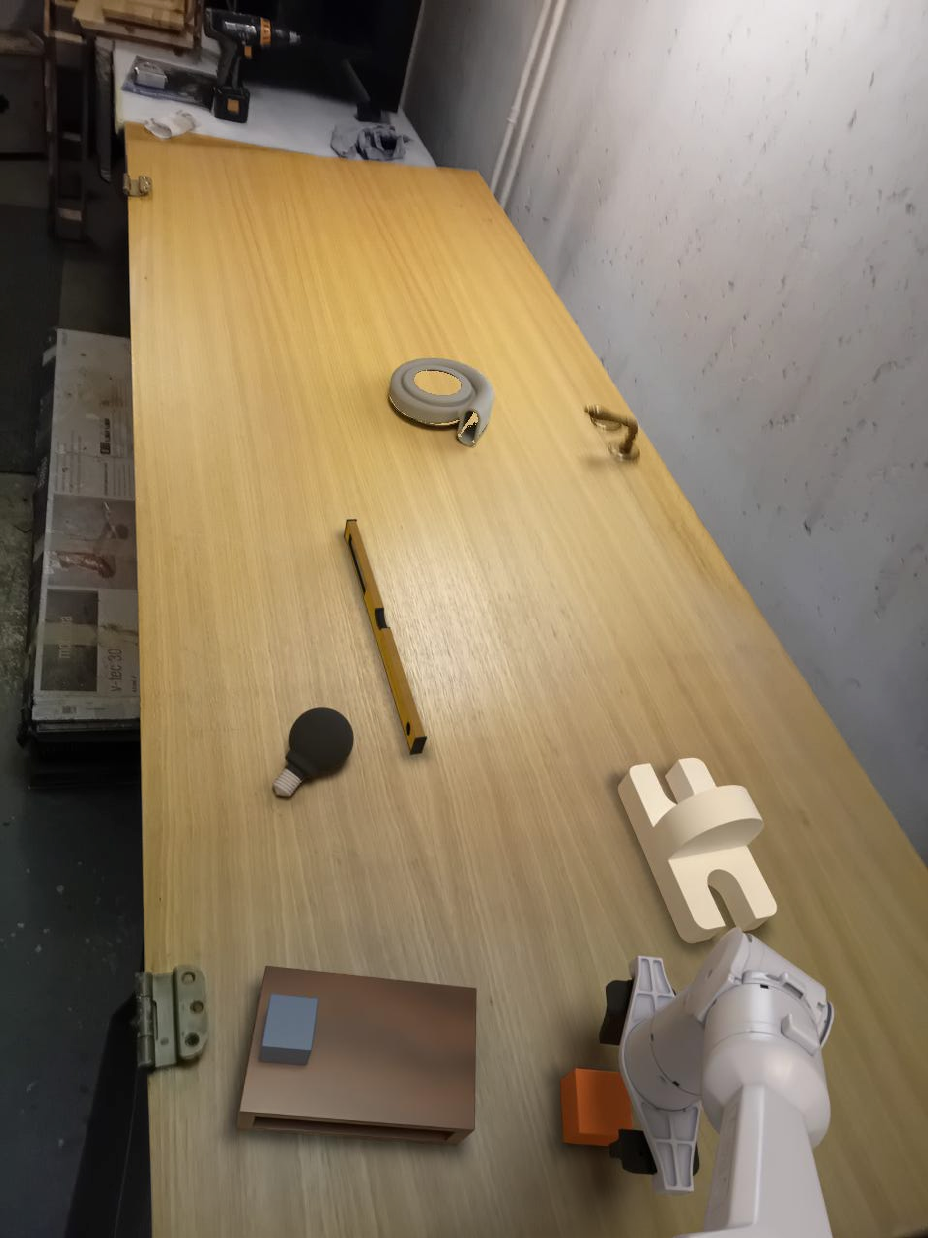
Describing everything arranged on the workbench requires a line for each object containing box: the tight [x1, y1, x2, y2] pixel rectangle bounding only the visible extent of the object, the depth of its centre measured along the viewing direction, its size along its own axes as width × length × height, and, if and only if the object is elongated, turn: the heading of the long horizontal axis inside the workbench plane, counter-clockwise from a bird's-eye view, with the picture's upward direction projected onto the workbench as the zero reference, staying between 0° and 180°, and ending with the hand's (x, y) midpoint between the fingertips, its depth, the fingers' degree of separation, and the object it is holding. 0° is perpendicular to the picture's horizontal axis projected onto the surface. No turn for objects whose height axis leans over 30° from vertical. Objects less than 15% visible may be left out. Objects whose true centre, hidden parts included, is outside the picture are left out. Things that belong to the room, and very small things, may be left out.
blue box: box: [259, 994, 319, 1065], centre depth 59 cm, size 4×4×4 cm
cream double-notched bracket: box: [616, 757, 778, 944], centre depth 83 cm, size 10×18×11 cm, turn 15°
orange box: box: [559, 1068, 634, 1147], centre depth 66 cm, size 4×4×4 cm
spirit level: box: [343, 518, 428, 755], centre depth 96 cm, size 33×1×3 cm, turn 17°
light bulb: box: [272, 706, 355, 797], centre depth 81 cm, size 6×6×10 cm
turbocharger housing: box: [388, 357, 495, 447], centre depth 129 cm, size 17×6×15 cm
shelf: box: [236, 965, 477, 1147], centre depth 64 cm, size 10×17×6 cm, turn 88°
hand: (615, 1094), depth 63 cm, fingers open, 7 cm apart
